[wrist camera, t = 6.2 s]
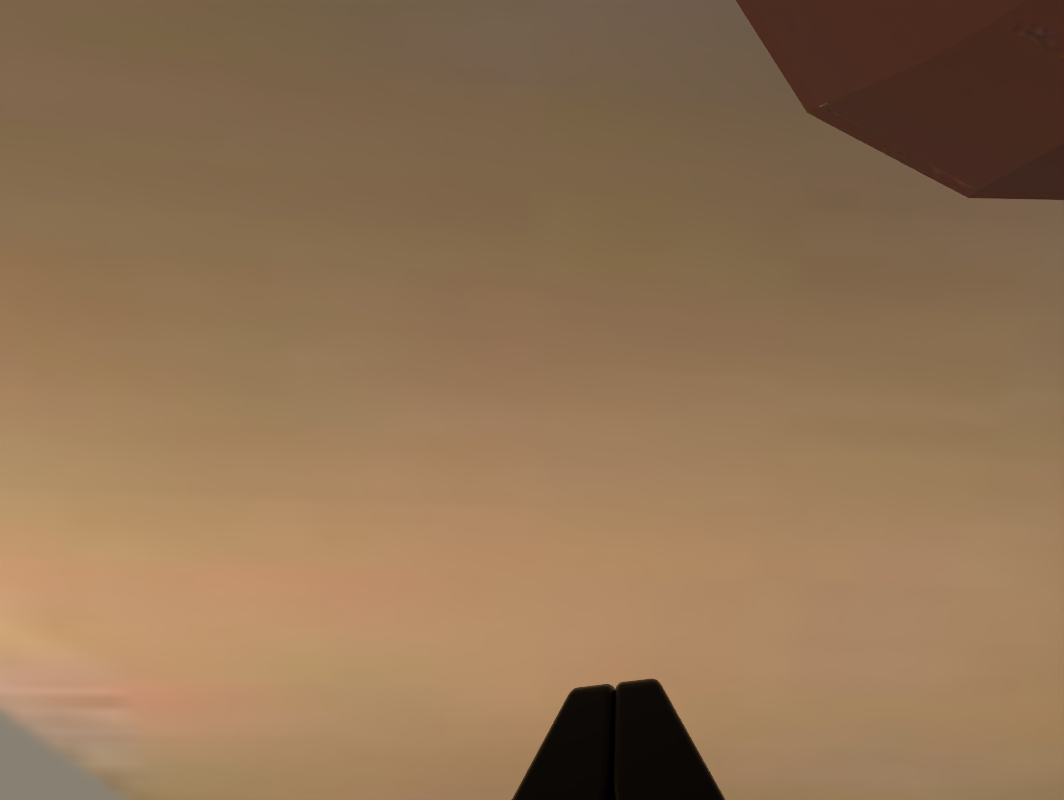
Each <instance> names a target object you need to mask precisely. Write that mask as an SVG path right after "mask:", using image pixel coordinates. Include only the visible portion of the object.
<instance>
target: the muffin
mask: <svg viewBox="0 0 1064 800" xmlns="http://www.w3.org/2000/svg"><path fill="white" fill-rule="evenodd" d="M736 1H737V3H738V4H739V6H740V7H741V9H742V11H743V12H744V14H745V15H746V17H747V18H748V20H749V22H750V23H751V25H752V26H753V28H754V29H755V31H756V33H757V34H758V36H759V37H760V39H761V41H762V42H763V44H764V45H765V47H766V48H767V50H768V52H769V53H770V55H771V56H772V58H773V59H774V61H775V63H776V64H777V66H778V67H779V69H780V70H781V72H782V74H783V75H784V77H785V78H786V80H787V81H788V83H789V85H790V86H791V88H792V89H793V91H794V92H795V94H796V96H797V97H798V99H799V100H800V102H801V103H802V105H803V107H804V108H805V110H806V111H807V113H809V114H811V115H813V116H815V117H816V118H818V119H820V120H822V121H824V122H826V123H828V124H830V125H832V126H834V127H835V128H837V129H839V130H841V131H843V132H845V133H847V134H849V135H851V136H852V137H854V138H856V139H858V140H860V141H862V142H864V143H866V144H868V145H869V146H871V147H873V148H875V149H877V150H879V151H881V152H883V153H885V154H886V155H888V156H890V157H892V158H894V159H896V160H898V161H900V162H902V163H903V164H905V165H907V166H909V167H911V168H913V169H915V170H917V171H919V172H920V173H922V174H924V175H926V176H928V177H930V178H932V179H934V180H936V181H937V182H939V183H941V184H943V185H945V186H947V187H949V188H951V189H953V190H955V191H956V192H958V193H960V194H962V195H964V196H966V197H968V198H1002V199H1049V200H1064V0H736Z"/></svg>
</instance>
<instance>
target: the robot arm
mask: <svg viewBox="0 0 1064 800" xmlns="http://www.w3.org/2000/svg"><path fill="white" fill-rule="evenodd" d="M512 800H725V798H724V797H723V795H722V793H721V791H720V789H719V788H718V786H717V784H716V782H715V780H714V779H713V777H712V775H711V773H710V771H709V770H708V768H707V766H706V764H705V763H704V761H703V759H702V757H701V755H700V754H699V752H698V750H697V748H696V746H695V745H694V743H693V741H692V739H691V737H690V736H689V734H688V732H687V730H686V728H685V727H684V725H683V723H682V721H681V719H680V718H679V716H678V714H677V712H676V710H675V709H674V707H673V705H672V703H671V702H670V700H669V698H668V696H667V694H666V693H665V691H664V689H663V687H662V685H661V684H660V683H659V682H658V681H657V680H655V679H645V680H637V681H628V682H621V683H619V684H618V685H617V687H616V690H615V688H614V687H613V686H611V685H609V684H603V685H595V686H587V687H579V688H575V689H574V690H572V691H571V692H570V693H569V695H568V697H567V699H566V700H565V702H564V704H563V706H562V708H561V710H560V712H559V713H558V715H557V717H556V719H555V721H554V723H553V725H552V726H551V728H550V730H549V732H548V734H547V736H546V738H545V739H544V741H543V743H542V745H541V747H540V749H539V751H538V752H537V754H536V756H535V758H534V760H533V762H532V764H531V765H530V767H529V769H528V771H527V773H526V775H525V777H524V778H523V780H522V782H521V784H520V786H519V788H518V790H517V791H516V793H515V795H514V797H513V799H512Z"/></svg>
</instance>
